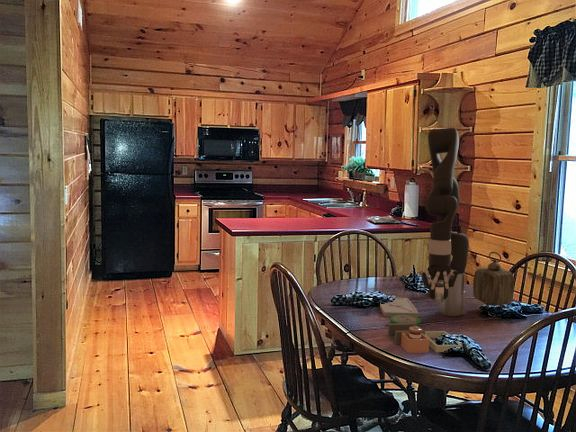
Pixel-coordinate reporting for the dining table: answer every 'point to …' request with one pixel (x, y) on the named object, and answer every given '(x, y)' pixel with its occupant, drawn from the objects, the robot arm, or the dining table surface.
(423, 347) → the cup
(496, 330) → the dining table surface
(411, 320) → the tape roll
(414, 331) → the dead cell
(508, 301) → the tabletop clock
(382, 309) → the envelope
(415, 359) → the dining table surface
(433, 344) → the trough
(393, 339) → the cradle
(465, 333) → the dining table surface
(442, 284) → the cell
